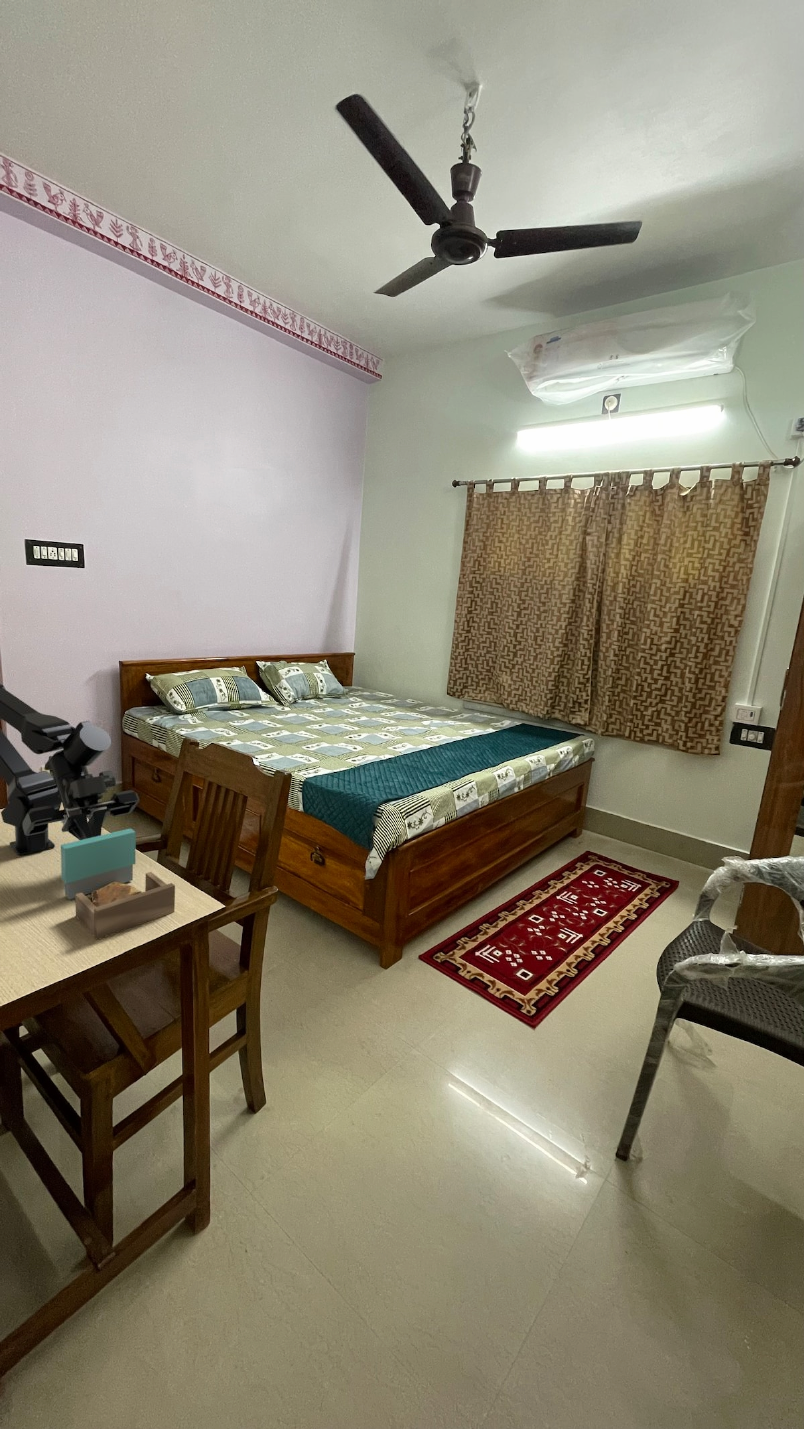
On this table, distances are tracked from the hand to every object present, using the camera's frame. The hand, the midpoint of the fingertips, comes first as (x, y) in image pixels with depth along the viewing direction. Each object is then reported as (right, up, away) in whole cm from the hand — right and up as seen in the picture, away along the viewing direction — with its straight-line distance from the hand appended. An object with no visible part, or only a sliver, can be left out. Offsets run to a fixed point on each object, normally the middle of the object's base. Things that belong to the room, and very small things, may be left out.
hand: (97, 852), depth 104 cm
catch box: (+8, -9, -6) cm, 14 cm away
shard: (+5, -9, -3) cm, 11 cm away
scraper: (0, -7, +1) cm, 7 cm away
